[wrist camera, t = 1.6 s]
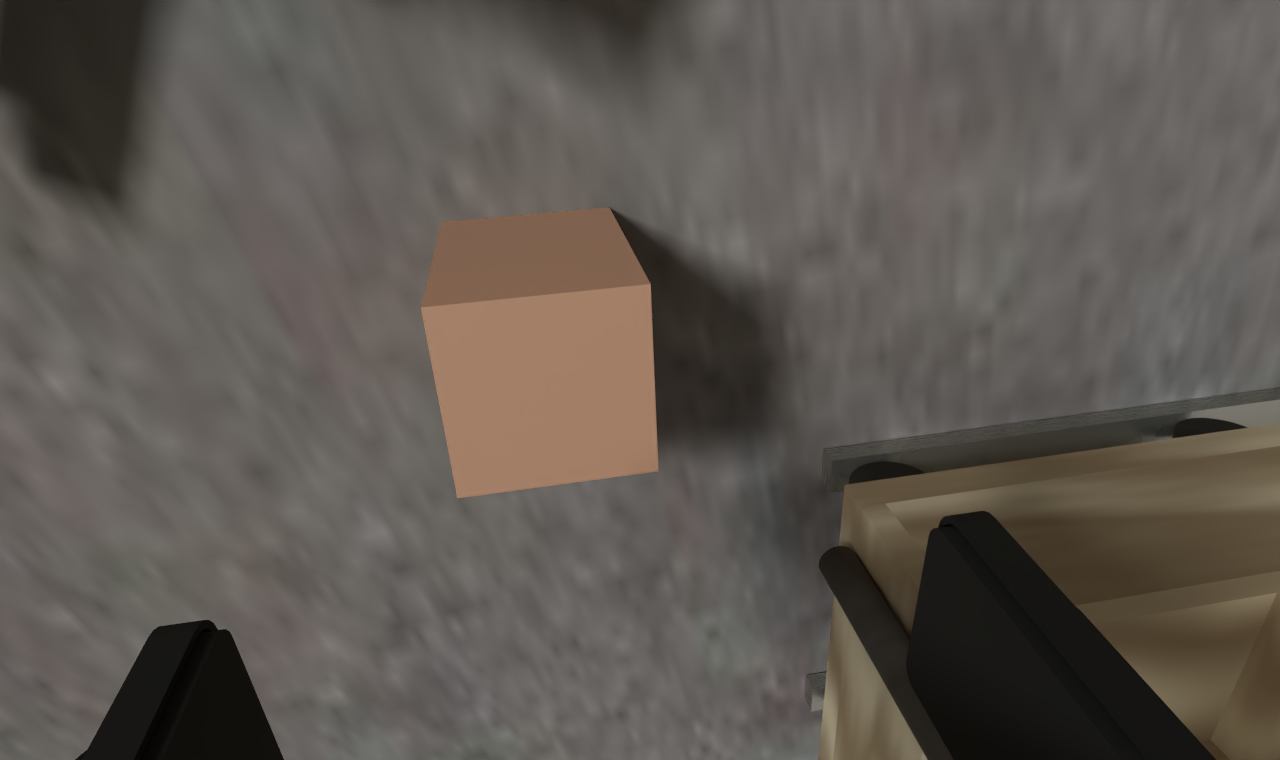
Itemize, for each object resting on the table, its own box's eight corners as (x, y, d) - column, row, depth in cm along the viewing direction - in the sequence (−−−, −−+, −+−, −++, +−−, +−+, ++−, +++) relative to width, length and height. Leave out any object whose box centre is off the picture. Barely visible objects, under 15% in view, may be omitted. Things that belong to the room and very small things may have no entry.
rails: (1300, 608, 38) (1315, 620, 37) (804, 696, 34) (810, 711, 34) (1414, 369, 32) (1435, 378, 31) (823, 449, 28) (832, 460, 28)
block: (618, 355, 25) (658, 470, 19) (467, 372, 25) (457, 497, 18) (609, 207, 23) (650, 283, 17) (442, 222, 22) (421, 307, 16)
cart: (1149, 674, 36) (1518, 1056, 23) (760, 746, 34) (927, 1220, 21) (1259, 378, 29) (1892, 694, 16) (773, 443, 26) (1044, 880, 13)
